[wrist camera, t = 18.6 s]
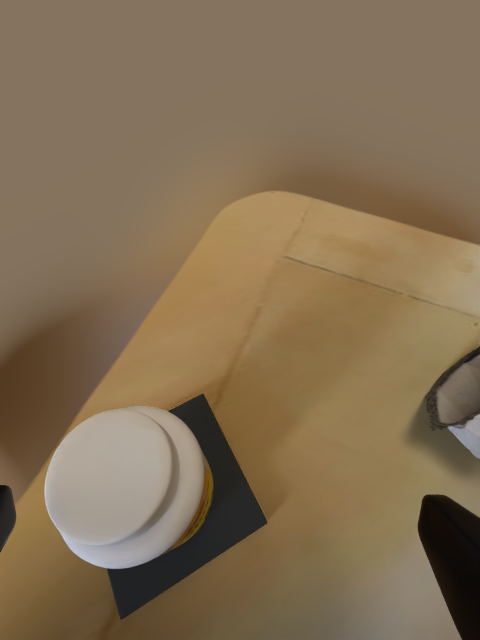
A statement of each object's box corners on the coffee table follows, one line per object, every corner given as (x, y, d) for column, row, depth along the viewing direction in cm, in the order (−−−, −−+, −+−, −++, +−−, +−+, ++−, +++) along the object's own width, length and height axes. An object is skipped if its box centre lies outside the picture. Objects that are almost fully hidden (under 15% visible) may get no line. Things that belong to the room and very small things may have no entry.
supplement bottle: (143, 574, 17) (40, 637, 8) (105, 475, 19) (-6, 441, 10) (233, 507, 18) (229, 501, 10) (188, 424, 21) (152, 357, 12)
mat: (122, 618, 16) (120, 620, 16) (80, 458, 20) (77, 457, 20) (267, 522, 18) (267, 522, 18) (203, 395, 22) (202, 393, 22)
